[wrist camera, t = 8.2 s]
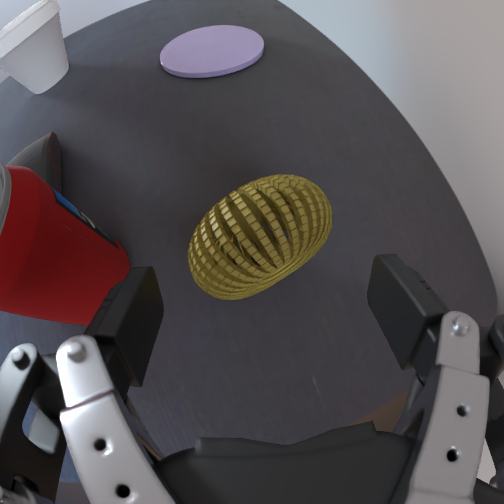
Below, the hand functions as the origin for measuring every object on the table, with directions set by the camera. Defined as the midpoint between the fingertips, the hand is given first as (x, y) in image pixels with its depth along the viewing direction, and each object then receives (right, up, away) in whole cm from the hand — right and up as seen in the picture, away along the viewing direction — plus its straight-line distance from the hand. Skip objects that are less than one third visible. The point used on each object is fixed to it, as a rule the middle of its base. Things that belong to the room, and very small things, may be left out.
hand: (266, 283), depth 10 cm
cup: (-31, +28, +18) cm, 45 cm away
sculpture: (0, +1, +9) cm, 9 cm away
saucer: (-5, +24, +16) cm, 29 cm away
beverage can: (-12, -1, +8) cm, 15 cm away
